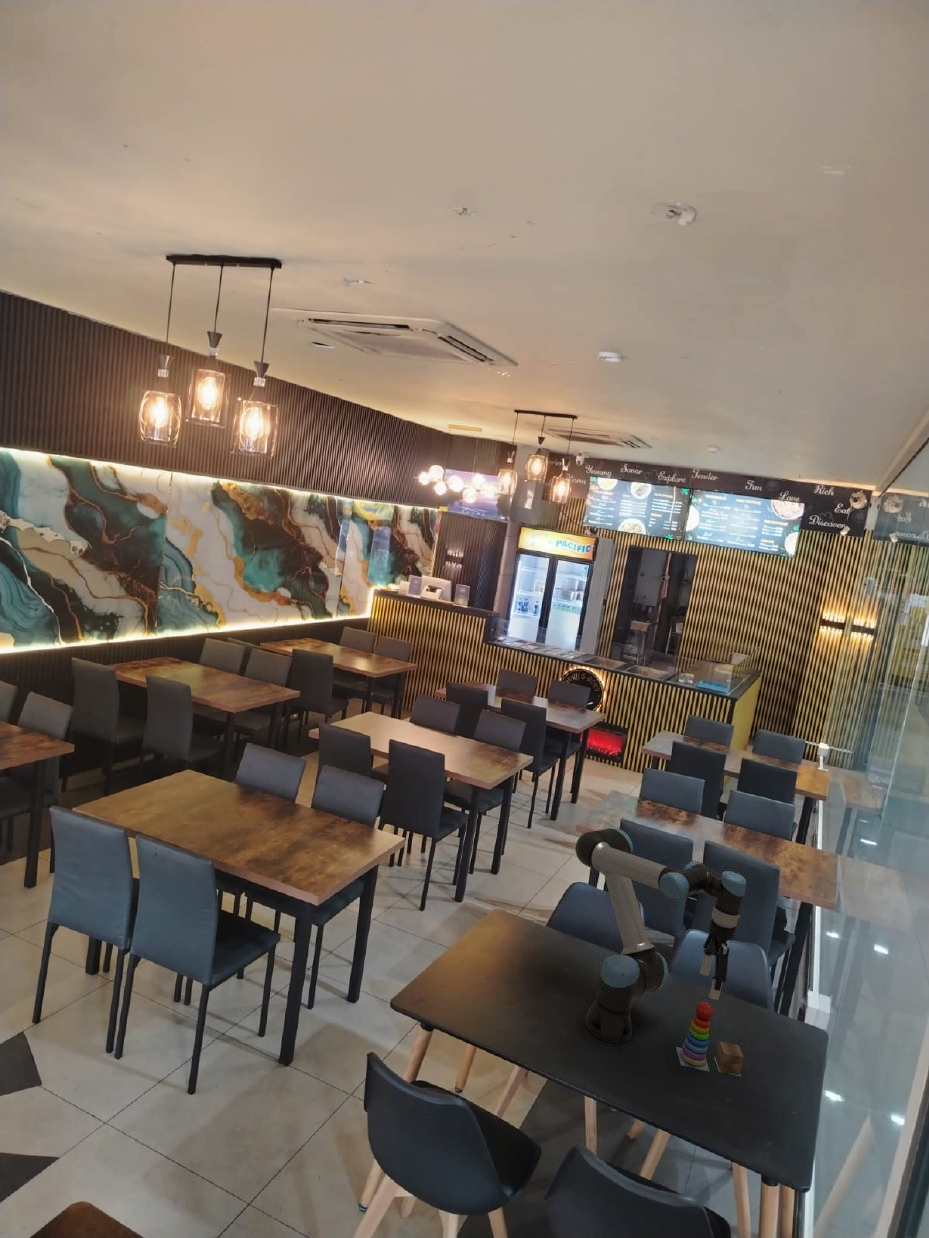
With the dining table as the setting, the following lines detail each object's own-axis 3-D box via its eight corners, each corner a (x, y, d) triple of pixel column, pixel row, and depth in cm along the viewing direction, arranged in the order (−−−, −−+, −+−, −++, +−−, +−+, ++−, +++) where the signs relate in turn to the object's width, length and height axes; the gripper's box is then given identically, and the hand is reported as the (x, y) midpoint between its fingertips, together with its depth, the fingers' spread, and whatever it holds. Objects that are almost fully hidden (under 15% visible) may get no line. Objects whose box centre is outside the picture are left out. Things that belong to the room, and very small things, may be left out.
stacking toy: (706, 1070, 248) (719, 1014, 246) (680, 1062, 249) (693, 1006, 247) (704, 1054, 255) (716, 1000, 253) (678, 1047, 257) (691, 993, 255)
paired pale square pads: (670, 1073, 245) (671, 1069, 245) (662, 1041, 261) (663, 1037, 261) (749, 1091, 243) (750, 1087, 243) (736, 1057, 259) (736, 1054, 259)
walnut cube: (720, 1070, 249) (724, 1052, 248) (715, 1058, 255) (719, 1041, 254) (739, 1075, 248) (743, 1057, 248) (734, 1062, 254) (738, 1045, 254)
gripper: (746, 945, 235) (730, 1011, 237) (726, 906, 260) (712, 967, 262) (721, 939, 235) (705, 1006, 238) (703, 901, 260) (689, 962, 262)
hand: (708, 986), depth 250 cm, fingers open, 13 cm apart
